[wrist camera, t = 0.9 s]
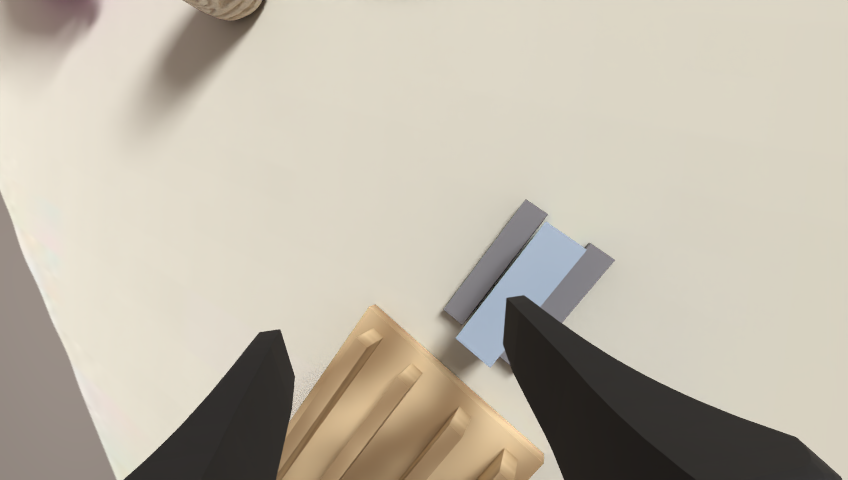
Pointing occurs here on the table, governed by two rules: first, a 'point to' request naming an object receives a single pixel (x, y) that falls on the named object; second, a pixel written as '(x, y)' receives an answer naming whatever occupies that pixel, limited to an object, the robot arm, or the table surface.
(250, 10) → the carving
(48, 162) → the table surface
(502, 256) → the drying stand
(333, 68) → the table surface
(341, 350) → the dish rack
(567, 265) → the light blue slab
